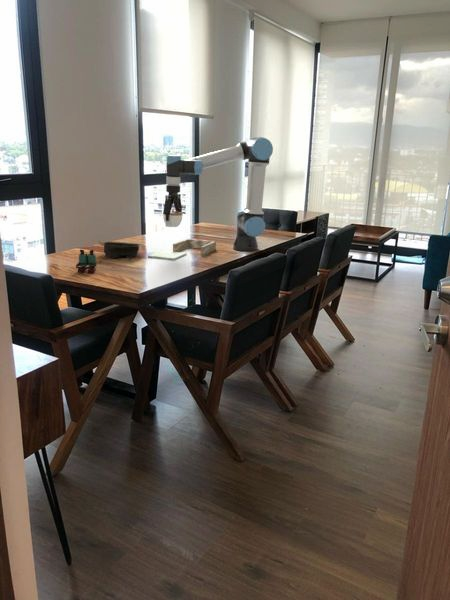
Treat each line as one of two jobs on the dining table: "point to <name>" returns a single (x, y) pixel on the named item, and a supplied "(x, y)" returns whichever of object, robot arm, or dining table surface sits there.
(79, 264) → the binoculars
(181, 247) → the cubby
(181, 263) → the dining table surface
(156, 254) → the pad
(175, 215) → the lidded jar
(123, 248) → the stone bowl
